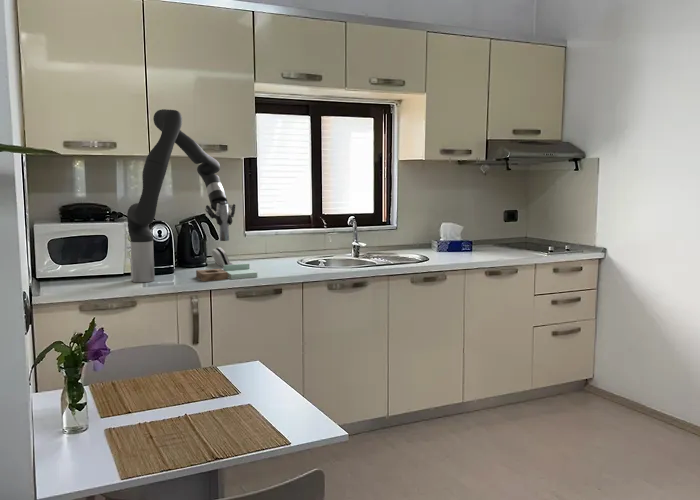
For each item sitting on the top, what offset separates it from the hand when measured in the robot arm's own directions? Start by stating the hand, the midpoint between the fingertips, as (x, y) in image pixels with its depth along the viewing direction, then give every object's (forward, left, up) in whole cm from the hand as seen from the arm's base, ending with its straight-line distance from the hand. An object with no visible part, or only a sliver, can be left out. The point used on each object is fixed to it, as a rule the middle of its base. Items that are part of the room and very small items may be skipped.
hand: (225, 223), depth 277 cm
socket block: (-6, +2, -24) cm, 25 cm away
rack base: (+7, +2, -24) cm, 25 cm away
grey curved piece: (+8, +34, -24) cm, 43 cm away
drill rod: (0, +2, -8) cm, 8 cm away
